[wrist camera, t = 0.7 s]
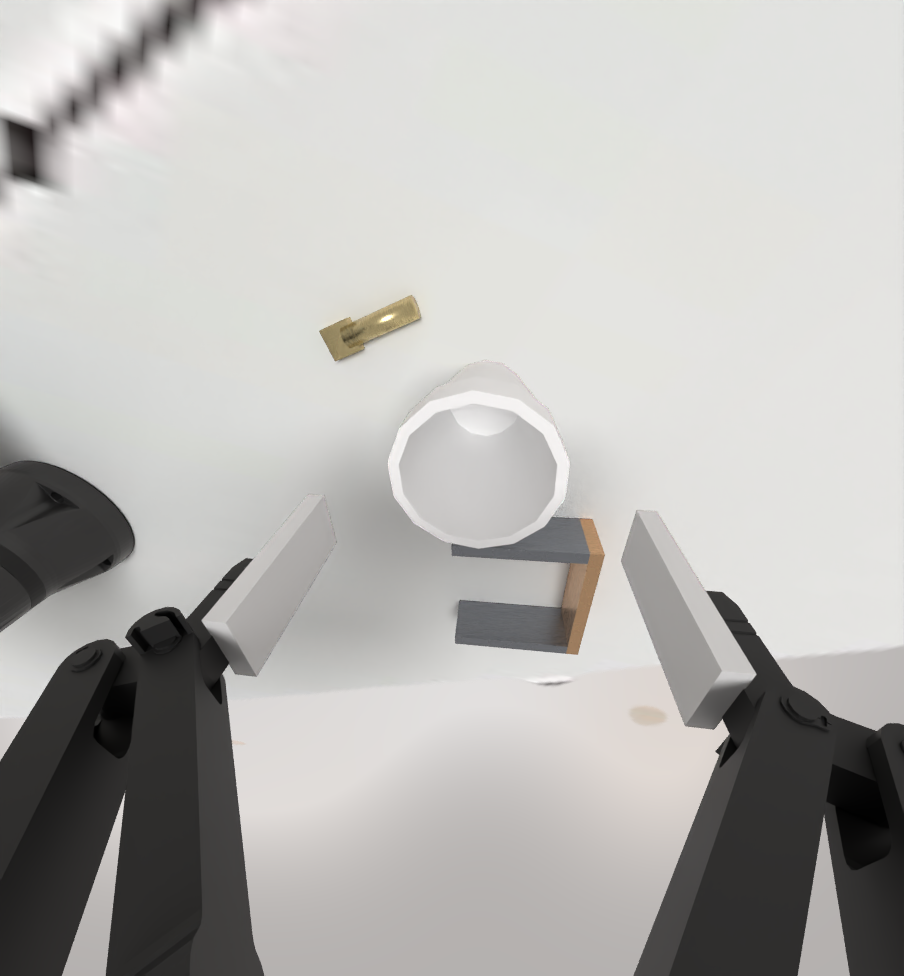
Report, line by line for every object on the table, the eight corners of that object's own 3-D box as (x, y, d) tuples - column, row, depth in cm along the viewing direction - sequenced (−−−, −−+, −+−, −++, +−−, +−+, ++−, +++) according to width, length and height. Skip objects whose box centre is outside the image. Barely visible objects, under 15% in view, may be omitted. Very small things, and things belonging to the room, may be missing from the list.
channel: (459, 606, 44) (455, 643, 40) (457, 512, 36) (451, 545, 32) (570, 615, 42) (577, 654, 38) (592, 519, 34) (604, 554, 30)
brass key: (340, 358, 29) (332, 363, 28) (324, 329, 28) (315, 332, 27) (424, 322, 27) (420, 325, 26) (411, 288, 26) (406, 289, 24)
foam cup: (539, 450, 31) (558, 551, 20) (436, 451, 33) (402, 546, 22) (547, 335, 26) (579, 387, 15) (425, 340, 28) (374, 393, 17)
